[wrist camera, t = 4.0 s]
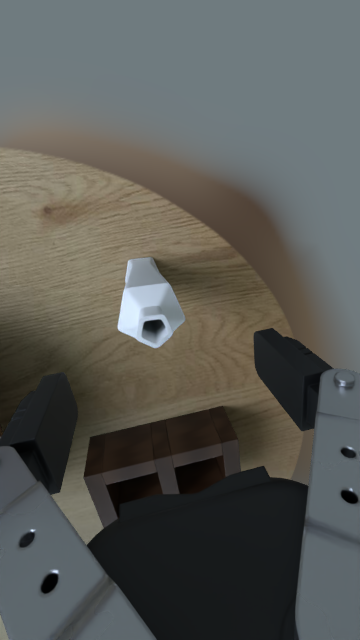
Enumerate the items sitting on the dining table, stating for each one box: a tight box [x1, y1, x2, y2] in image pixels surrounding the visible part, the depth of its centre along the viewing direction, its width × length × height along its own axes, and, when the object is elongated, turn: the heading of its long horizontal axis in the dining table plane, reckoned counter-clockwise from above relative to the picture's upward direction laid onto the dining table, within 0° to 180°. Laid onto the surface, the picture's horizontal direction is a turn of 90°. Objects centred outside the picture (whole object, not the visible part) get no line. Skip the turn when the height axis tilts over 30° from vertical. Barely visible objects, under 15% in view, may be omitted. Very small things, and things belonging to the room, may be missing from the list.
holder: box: [84, 406, 241, 528], centre depth 37 cm, size 18×10×6 cm, turn 98°
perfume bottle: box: [118, 257, 185, 348], centre depth 23 cm, size 5×4×15 cm
